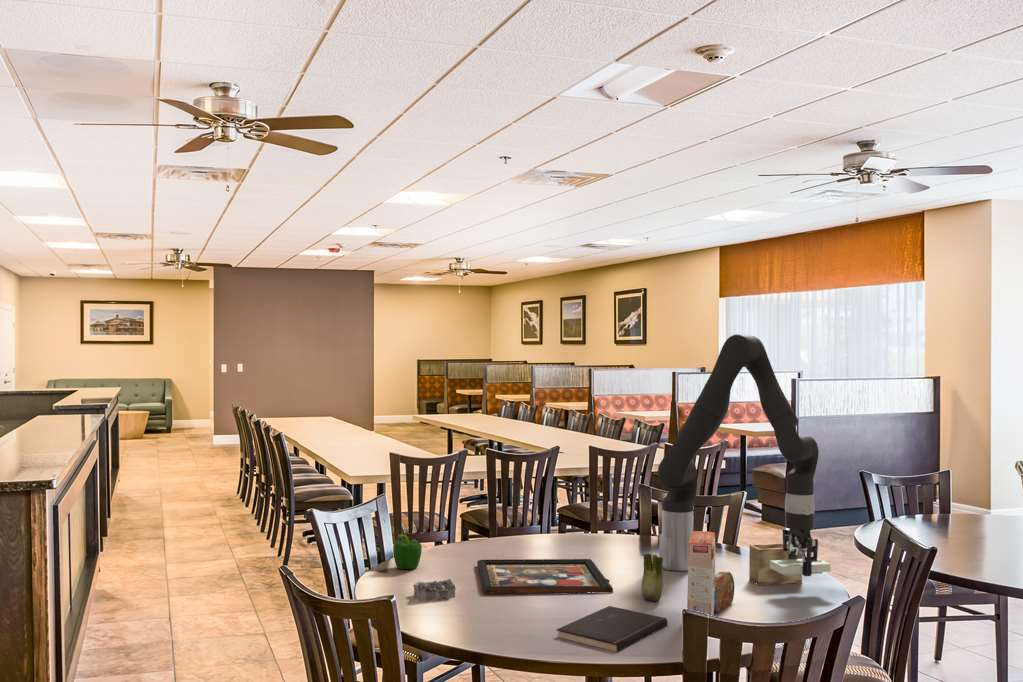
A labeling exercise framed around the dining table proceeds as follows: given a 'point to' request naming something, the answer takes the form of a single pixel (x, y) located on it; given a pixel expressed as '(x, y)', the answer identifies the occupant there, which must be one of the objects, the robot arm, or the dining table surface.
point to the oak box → (761, 565)
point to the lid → (798, 566)
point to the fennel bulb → (652, 577)
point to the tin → (723, 591)
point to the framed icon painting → (541, 576)
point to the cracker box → (701, 572)
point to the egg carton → (434, 590)
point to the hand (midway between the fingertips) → (799, 572)
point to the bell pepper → (407, 553)
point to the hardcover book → (612, 628)
